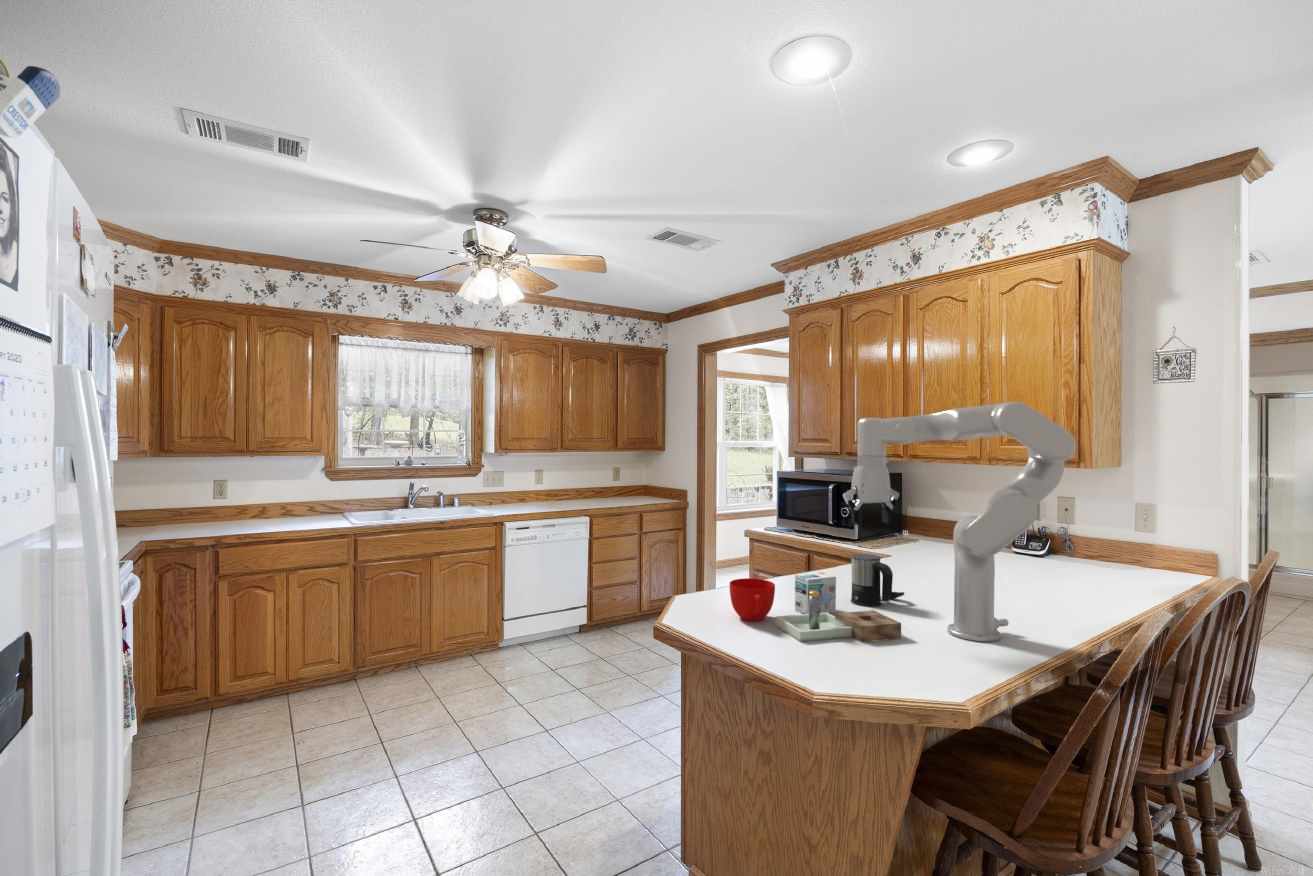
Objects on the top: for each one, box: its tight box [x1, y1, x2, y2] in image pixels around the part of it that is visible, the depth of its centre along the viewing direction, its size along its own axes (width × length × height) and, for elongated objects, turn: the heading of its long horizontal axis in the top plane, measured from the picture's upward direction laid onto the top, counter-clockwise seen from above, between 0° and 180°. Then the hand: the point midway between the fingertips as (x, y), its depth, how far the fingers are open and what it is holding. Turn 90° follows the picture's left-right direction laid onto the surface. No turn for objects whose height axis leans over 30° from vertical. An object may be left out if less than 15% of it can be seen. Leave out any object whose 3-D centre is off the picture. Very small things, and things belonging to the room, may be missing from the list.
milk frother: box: [850, 553, 905, 607], centre depth 196 cm, size 14×16×15 cm
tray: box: [774, 612, 852, 643], centre depth 167 cm, size 16×14×2 cm
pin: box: [809, 591, 820, 630], centre depth 167 cm, size 3×3×10 cm
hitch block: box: [834, 609, 902, 642], centre depth 165 cm, size 12×12×4 cm
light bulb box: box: [794, 571, 837, 614], centre depth 186 cm, size 11×7×11 cm, turn 114°
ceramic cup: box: [729, 577, 776, 622], centre depth 176 cm, size 13×17×10 cm
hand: (871, 523), depth 172 cm, fingers open, 9 cm apart
